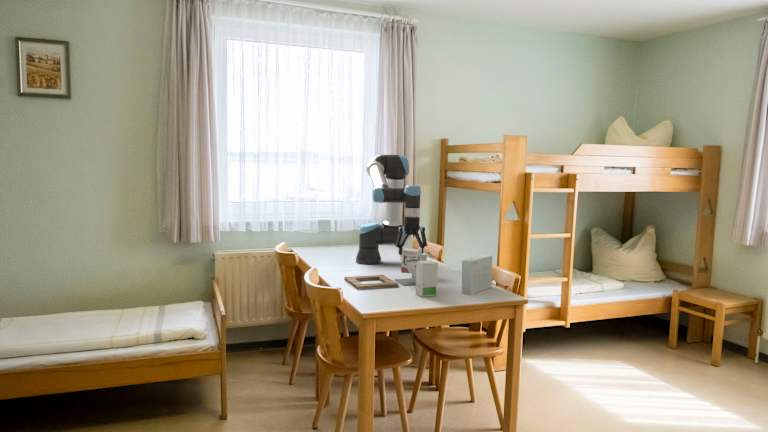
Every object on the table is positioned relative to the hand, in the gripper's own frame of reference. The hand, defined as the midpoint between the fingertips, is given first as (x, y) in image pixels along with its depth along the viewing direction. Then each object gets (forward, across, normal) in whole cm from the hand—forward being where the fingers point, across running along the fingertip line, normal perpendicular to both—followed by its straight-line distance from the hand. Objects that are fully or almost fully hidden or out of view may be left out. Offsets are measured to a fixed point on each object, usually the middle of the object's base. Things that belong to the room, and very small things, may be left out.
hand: (410, 260), depth 271 cm
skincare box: (+11, -3, -25) cm, 28 cm away
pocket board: (+11, -20, +3) cm, 23 cm away
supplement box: (+11, +10, +11) cm, 19 cm away
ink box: (+6, 0, 0) cm, 6 cm away
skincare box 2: (+11, +25, -23) cm, 36 cm away
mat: (+11, 0, 0) cm, 11 cm away
